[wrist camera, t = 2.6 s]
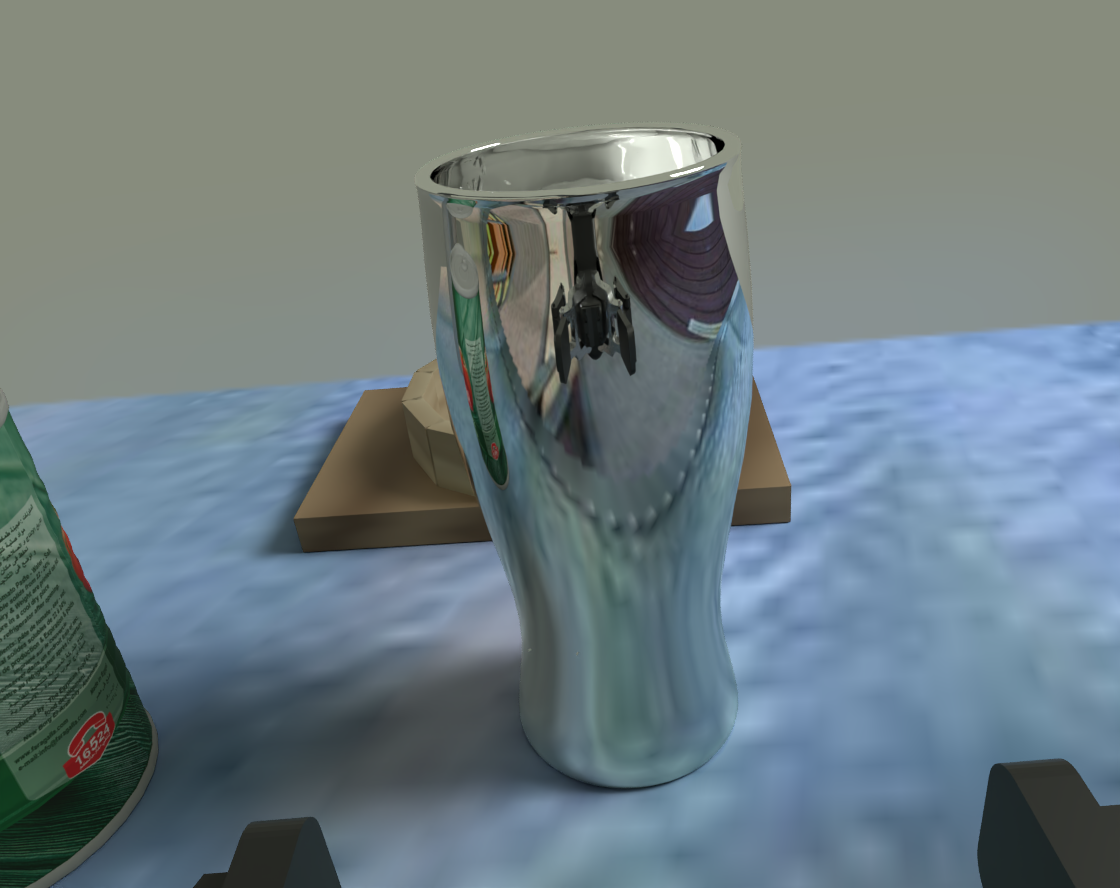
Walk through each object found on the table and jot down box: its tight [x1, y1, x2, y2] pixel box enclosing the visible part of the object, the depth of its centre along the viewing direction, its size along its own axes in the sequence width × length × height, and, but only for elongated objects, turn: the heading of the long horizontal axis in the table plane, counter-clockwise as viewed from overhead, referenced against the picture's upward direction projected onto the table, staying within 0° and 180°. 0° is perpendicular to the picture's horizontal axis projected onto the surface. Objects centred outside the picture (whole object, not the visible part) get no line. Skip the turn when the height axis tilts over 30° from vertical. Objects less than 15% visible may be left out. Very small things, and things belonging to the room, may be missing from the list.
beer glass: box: [414, 122, 754, 788], centre depth 21 cm, size 7×7×15 cm
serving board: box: [294, 359, 791, 552], centre depth 36 cm, size 18×11×4 cm, turn 87°
